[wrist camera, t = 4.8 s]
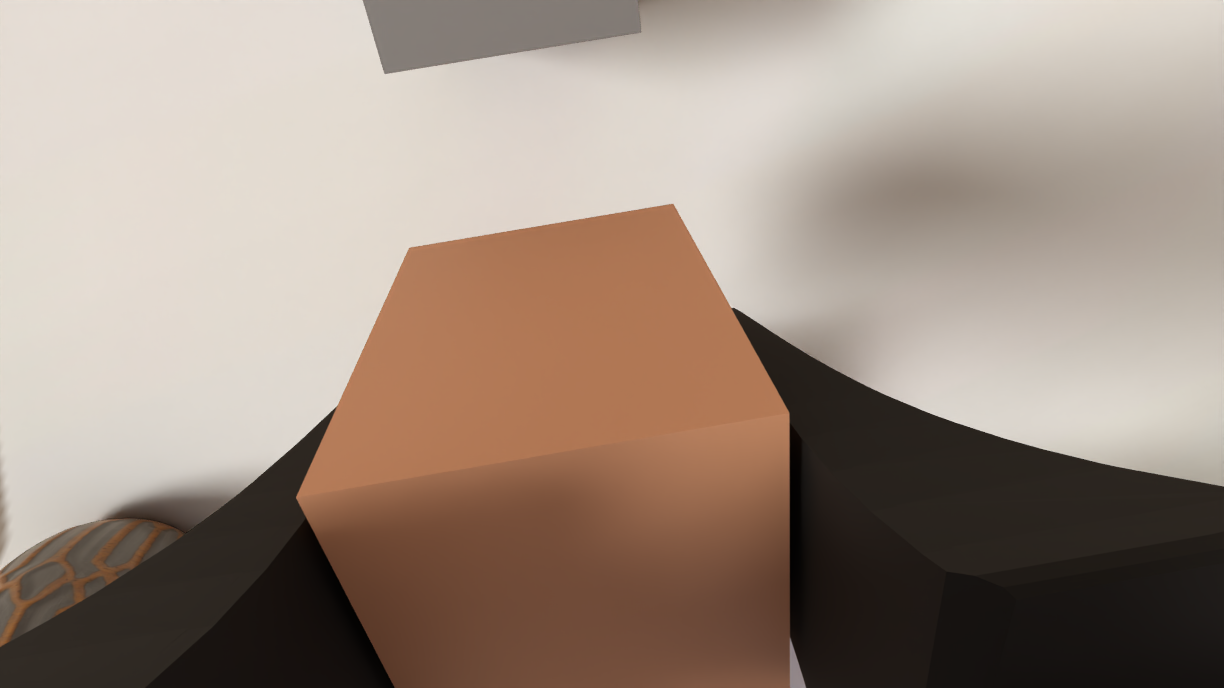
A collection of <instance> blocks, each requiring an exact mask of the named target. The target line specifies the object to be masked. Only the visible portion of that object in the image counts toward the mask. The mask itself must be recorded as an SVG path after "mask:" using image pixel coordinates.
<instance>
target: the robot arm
mask: <svg viewBox="0 0 1224 688" xmlns="http://www.w3.org/2000/svg"><path fill="white" fill-rule="evenodd" d="M731 309H732V311H733V312H734V314H735V316H736V318H737V320H738V321H739V323H740V325H741V327H742V329H743V330H744V332H745V334H746V336H747V338H748V339H749V341H750V343H751V345H752V347H753V348H754V350H755V352H756V354H757V356H758V357H759V359H760V361H761V363H762V365H763V366H764V368H765V370H766V372H767V374H768V375H769V377H770V379H771V381H772V383H773V384H774V386H775V388H776V390H777V391H778V393H779V395H780V397H781V399H782V400H783V402H784V404H785V406H786V408H787V409H788V411H789V444H790V688H1224V487H1223V486H1217V485H1212V484H1206V483H1201V482H1196V481H1190V480H1185V479H1179V478H1174V477H1168V476H1163V475H1158V474H1152V473H1147V472H1141V471H1136V470H1130V469H1125V468H1120V467H1115V466H1110V465H1105V464H1101V463H1097V462H1093V461H1088V460H1084V459H1080V458H1076V457H1072V456H1068V455H1064V454H1060V453H1056V452H1051V451H1047V450H1043V449H1040V448H1036V447H1032V446H1029V445H1025V444H1022V443H1018V442H1015V441H1011V440H1007V439H1004V438H1001V437H998V436H995V435H992V434H988V433H985V432H982V431H979V430H976V429H973V428H970V427H967V426H964V425H961V424H958V423H955V422H952V421H949V420H946V419H944V418H941V417H938V416H935V415H933V414H930V413H927V412H925V411H922V410H920V409H918V408H915V407H913V406H910V405H908V404H906V403H903V402H901V401H898V400H896V399H893V398H891V397H889V396H886V395H884V394H882V393H880V392H878V391H875V390H873V389H871V388H869V387H867V386H865V385H863V384H861V383H859V382H857V381H855V380H853V379H851V378H849V377H847V376H846V375H844V374H842V373H840V372H838V371H836V370H834V369H832V368H830V367H829V366H827V365H825V364H823V363H821V362H820V361H818V360H816V359H814V358H813V357H811V356H809V355H808V354H806V353H804V352H803V351H801V350H799V349H798V348H796V347H794V346H793V345H791V344H790V343H788V342H786V341H785V340H783V339H782V338H780V337H779V336H777V335H775V334H774V333H772V332H771V331H769V330H768V329H766V328H765V327H763V326H762V325H760V324H759V323H757V322H756V321H754V320H753V319H751V318H750V317H748V316H746V315H745V314H743V313H742V312H740V311H739V310H737V309H735V308H731ZM336 408H337V407H336ZM336 408H335V409H334V410H333V411H331V412H330V413H329V414H328V415H327V416H326V417H325V418H324V419H323V420H322V421H321V422H320V423H319V424H318V425H317V426H316V427H315V428H313V429H312V430H311V431H310V432H309V433H308V434H307V435H306V436H305V437H304V438H303V439H302V440H301V441H300V442H299V443H297V444H296V445H295V446H294V447H293V448H292V449H291V450H289V451H288V452H287V453H286V454H285V455H284V456H282V457H281V458H280V459H279V460H278V461H277V462H276V463H274V464H273V465H272V466H271V467H270V468H269V469H267V470H266V471H265V472H264V473H263V474H262V475H261V476H259V477H258V478H257V479H256V480H255V481H254V482H253V483H251V484H250V485H249V486H248V487H247V488H245V489H244V490H243V491H242V492H240V493H239V494H238V495H237V496H235V497H234V498H233V499H232V500H230V501H229V502H228V503H226V504H225V505H224V506H223V507H221V508H220V509H219V510H217V511H216V512H215V513H213V514H212V515H211V516H209V517H208V518H206V519H205V520H204V521H202V522H201V523H200V524H198V525H197V526H196V527H194V528H193V529H191V530H190V531H189V532H187V533H186V534H185V535H183V536H182V537H180V538H179V539H177V540H176V541H175V542H173V543H172V544H170V545H169V546H167V547H166V548H164V549H163V550H161V551H160V552H158V553H156V554H155V555H153V556H152V557H150V558H149V559H147V560H146V561H144V562H142V563H141V564H139V565H138V566H136V567H135V568H133V569H132V570H130V571H128V572H127V573H125V574H124V575H122V576H121V577H119V578H118V579H116V580H114V581H113V582H111V583H110V584H108V585H107V586H105V587H104V588H102V589H101V590H99V591H97V592H96V593H94V594H92V595H91V596H89V597H87V598H86V599H84V600H82V601H81V602H79V603H77V604H75V605H74V606H72V607H70V608H69V609H67V610H65V611H63V612H62V613H60V614H58V615H57V616H55V617H53V618H51V619H50V620H48V621H46V622H44V623H43V624H41V625H39V626H37V627H35V628H34V629H32V630H30V631H28V632H26V633H24V634H23V635H21V636H19V637H17V638H15V639H14V640H12V641H10V642H8V643H6V644H4V645H3V646H1V647H0V688H395V687H394V685H393V683H392V682H391V680H390V678H389V676H388V674H387V672H386V670H385V668H384V666H383V664H382V662H381V660H380V658H379V657H378V655H377V653H376V651H375V649H374V647H373V645H372V643H371V641H370V639H369V637H368V635H367V633H366V631H365V630H364V628H363V626H362V624H361V622H360V620H359V618H358V616H357V614H356V612H355V610H354V608H353V606H352V605H351V603H350V601H349V599H348V597H347V595H346V593H345V591H344V589H343V587H342V585H341V583H340V581H339V579H338V578H337V576H336V574H335V572H334V570H333V568H332V566H331V564H330V562H329V560H328V558H327V556H326V554H325V553H324V551H323V549H322V547H321V545H320V543H319V541H318V539H317V537H316V535H315V533H314V531H313V529H312V528H311V526H310V524H309V522H308V520H307V518H306V516H305V514H304V512H303V510H302V508H301V506H300V504H299V502H298V501H297V499H296V496H297V494H298V492H299V490H300V488H301V485H302V483H303V481H304V479H305V477H306V474H307V472H308V470H309V468H310V466H311V463H312V461H313V459H314V457H315V455H316V452H317V450H318V448H319V446H320V443H321V441H322V439H323V437H324V435H325V432H326V430H327V428H328V426H329V424H330V421H331V419H332V417H333V415H334V413H335V410H336Z"/></svg>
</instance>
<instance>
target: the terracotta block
mask: <svg viewBox="0 0 1224 688" xmlns="http://www.w3.org/2000/svg"><path fill="white" fill-rule="evenodd" d="M296 499H297V501H298V502H299V504H300V506H301V508H302V510H303V512H304V514H305V516H306V518H307V520H308V522H309V524H310V526H311V528H312V529H313V531H314V533H315V535H316V537H317V539H318V541H319V543H320V545H321V547H322V549H323V551H324V553H325V554H326V556H327V558H328V560H329V562H330V564H331V566H332V568H333V570H334V572H335V574H336V576H337V578H338V579H339V581H340V583H341V585H342V587H343V589H344V591H345V593H346V595H347V597H348V599H349V601H350V603H351V605H352V606H353V608H354V610H355V612H356V614H357V616H358V618H359V620H360V622H361V624H362V626H363V628H364V630H365V631H366V633H367V635H368V637H369V639H370V641H371V643H372V645H373V647H374V649H375V651H376V653H377V655H378V657H379V658H380V660H381V662H382V664H383V666H384V668H385V670H386V672H387V674H388V676H389V678H390V680H391V682H392V683H393V685H394V687H395V688H790V444H789V411H788V409H787V408H786V406H785V404H784V402H783V400H782V399H781V397H780V395H779V393H778V391H777V390H776V388H775V386H774V384H773V383H772V381H771V379H770V377H769V375H768V374H767V372H766V370H765V368H764V366H763V365H762V363H761V361H760V359H759V357H758V356H757V354H756V352H755V350H754V348H753V347H752V345H751V343H750V341H749V339H748V338H747V336H746V334H745V332H744V330H743V329H742V327H741V325H740V323H739V321H738V320H737V318H736V316H735V314H734V312H733V311H732V309H731V307H730V305H729V303H728V302H727V300H726V298H725V296H724V294H723V293H722V291H721V289H720V287H719V285H718V284H717V282H716V280H715V278H714V276H713V275H712V273H711V271H710V269H709V267H708V266H707V264H706V262H705V260H704V258H703V257H702V255H701V253H700V251H699V249H698V248H697V246H696V244H695V242H694V240H693V239H692V237H691V235H690V233H689V231H688V230H687V228H686V226H685V224H684V222H683V221H682V219H681V217H680V215H679V213H678V212H677V210H676V208H675V206H674V204H669V205H663V206H657V207H651V208H645V209H639V210H633V211H627V212H621V213H615V214H609V215H603V216H597V217H591V218H585V219H579V220H573V221H567V222H561V223H555V224H549V225H543V226H537V227H531V228H525V229H519V230H513V231H507V232H501V233H495V234H489V235H484V236H478V237H472V238H466V239H460V240H454V241H448V242H442V243H436V244H430V245H424V246H418V247H412V248H409V250H408V252H407V254H406V256H405V258H404V261H403V263H402V265H401V267H400V269H399V272H398V274H397V276H396V278H395V280H394V283H393V285H392V287H391V289H390V291H389V294H388V296H387V298H386V300H385V302H384V305H383V307H382V309H381V311H380V313H379V316H378V318H377V320H376V322H375V325H374V327H373V329H372V331H371V333H370V336H369V338H368V340H367V342H366V344H365V347H364V349H363V351H362V353H361V355H360V358H359V360H358V362H357V364H356V366H355V369H354V371H353V373H352V375H351V377H350V380H349V382H348V384H347V386H346V388H345V391H344V393H343V395H342V397H341V399H340V402H339V404H338V406H337V408H336V410H335V413H334V415H333V417H332V419H331V421H330V424H329V426H328V428H327V430H326V432H325V435H324V437H323V439H322V441H321V443H320V446H319V448H318V450H317V452H316V455H315V457H314V459H313V461H312V463H311V466H310V468H309V470H308V472H307V474H306V477H305V479H304V481H303V483H302V485H301V488H300V490H299V492H298V494H297V496H296Z"/></svg>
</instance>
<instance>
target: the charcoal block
mask: <svg viewBox="0 0 1224 688" xmlns="http://www.w3.org/2000/svg"><path fill="white" fill-rule="evenodd" d="M363 2H364V6H365V9H366V12H367V16H368V19H369V23H370V26H371V30H372V33H373V36H374V40H375V43H376V47H377V50H378V53H379V57H380V60H381V64H382V67H383V70H384V74H388V73H394V72H400V71H406V70H412V69H419V68H425V67H431V66H437V65H443V64H449V63H456V62H462V61H468V60H474V59H480V58H486V57H493V56H499V55H505V54H511V53H517V52H523V51H530V50H536V49H542V48H548V47H554V46H560V45H567V44H573V43H579V42H585V41H591V40H597V39H604V38H610V37H616V36H622V35H628V34H634V33H641V24H640V14H639V5H638V0H363Z"/></svg>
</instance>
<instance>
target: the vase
mask: <svg viewBox="0 0 1224 688" xmlns="http://www.w3.org/2000/svg"><path fill="white" fill-rule="evenodd" d="M183 535H185V533H183V532H182V531H180V530H178V529H176V528H174V527H172V526H169V525H167V524H164V523H160V522H157V521H152V520H146V519H133V518H125V519H111V520H101V521H95V522H91V523H87V524H83V525H80V526H76V527H72V528H69V529H67V530H64V531H62V532H60V533H58V534H56V535H54V536H51V537H49V538H47V539H45V540H43V541H42V542H40V543H38V544H37V545H35V546H33V547H32V548H30V549H29V550H27V551H25V552H24V553H22V554H21V555H20V556H18V557H17V558H16V559H14V560H13V561H11V562H10V563H9V564H7V565H6V566H5V567H4V568H3V569H1V570H0V647H1V646H3V645H4V644H6V643H8V642H10V641H12V640H14V639H15V638H17V637H19V636H21V635H23V634H24V633H26V632H28V631H30V630H32V629H34V628H35V627H37V626H39V625H41V624H43V623H44V622H46V621H48V620H50V619H51V618H53V617H55V616H57V615H58V614H60V613H62V612H63V611H65V610H67V609H69V608H70V607H72V606H74V605H75V604H77V603H79V602H81V601H82V600H84V599H86V598H87V597H89V596H91V595H92V594H94V593H96V592H97V591H99V590H101V589H102V588H104V587H105V586H107V585H108V584H110V583H111V582H113V581H114V580H116V579H118V578H119V577H121V576H122V575H124V574H125V573H127V572H128V571H130V570H132V569H133V568H135V567H136V566H138V565H139V564H141V563H142V562H144V561H146V560H147V559H149V558H150V557H152V556H153V555H155V554H156V553H158V552H160V551H161V550H163V549H164V548H166V547H167V546H169V545H170V544H172V543H173V542H175V541H176V540H177V539H179V538H180V537H182V536H183Z"/></svg>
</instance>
